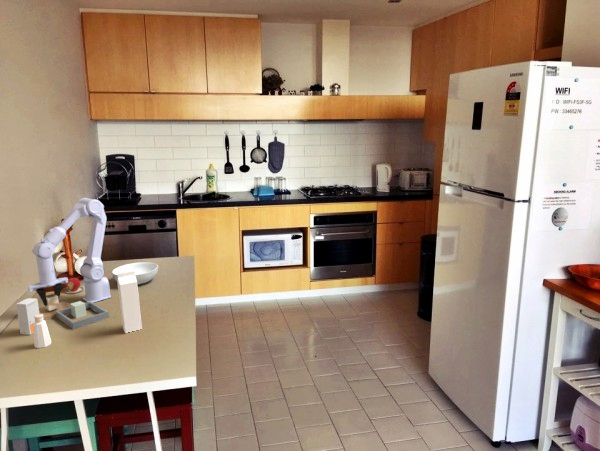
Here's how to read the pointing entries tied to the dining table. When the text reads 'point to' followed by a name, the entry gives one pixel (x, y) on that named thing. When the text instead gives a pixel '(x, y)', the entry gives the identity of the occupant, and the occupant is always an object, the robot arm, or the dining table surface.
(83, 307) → the sage block
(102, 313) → the bin
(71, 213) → the robot arm
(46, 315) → the walnut board
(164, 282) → the dining table surface
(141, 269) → the serving bowl
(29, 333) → the skincare box
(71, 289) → the apple
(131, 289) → the milk
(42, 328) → the pepper shaker
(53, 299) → the birch block
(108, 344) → the dining table surface
